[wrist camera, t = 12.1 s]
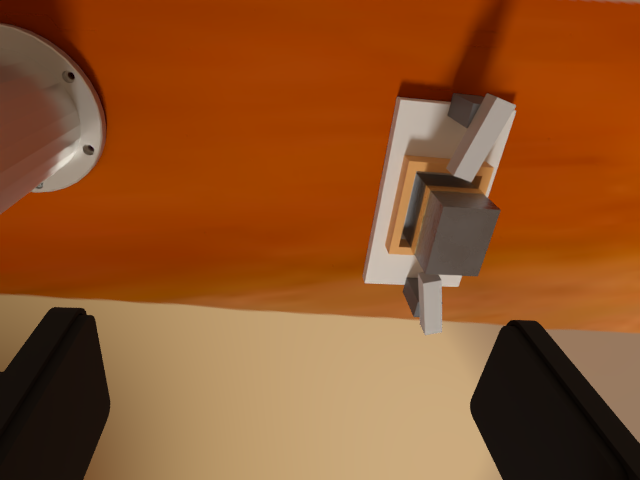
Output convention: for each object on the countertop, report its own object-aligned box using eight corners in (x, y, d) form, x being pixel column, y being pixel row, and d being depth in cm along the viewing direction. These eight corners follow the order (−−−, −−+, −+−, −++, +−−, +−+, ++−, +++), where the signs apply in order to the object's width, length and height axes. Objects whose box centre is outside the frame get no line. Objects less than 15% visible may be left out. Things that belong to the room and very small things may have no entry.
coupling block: (401, 233, 40) (424, 274, 34) (415, 172, 37) (442, 205, 31) (448, 235, 40) (478, 276, 34) (465, 175, 37) (501, 209, 31)
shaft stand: (449, 293, 45) (475, 336, 39) (360, 289, 44) (372, 333, 38) (516, 87, 35) (564, 104, 29) (401, 75, 34) (427, 90, 28)
